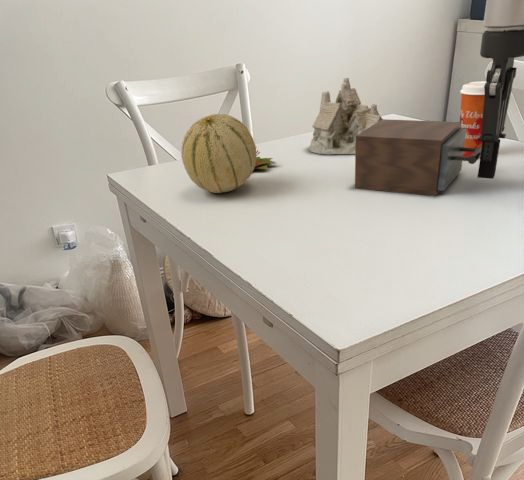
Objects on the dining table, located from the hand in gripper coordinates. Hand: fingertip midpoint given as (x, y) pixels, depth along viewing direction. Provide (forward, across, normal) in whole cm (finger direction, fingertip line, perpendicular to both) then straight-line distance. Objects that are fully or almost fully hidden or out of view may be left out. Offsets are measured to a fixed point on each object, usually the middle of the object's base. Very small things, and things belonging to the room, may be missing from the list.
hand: (486, 176), depth 99 cm
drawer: (+1, 0, +11) cm, 11 cm away
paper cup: (+2, +21, +7) cm, 22 cm away
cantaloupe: (+2, -16, +48) cm, 51 cm away
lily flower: (+2, 0, +51) cm, 51 cm away
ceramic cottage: (+2, +20, +36) cm, 41 cm away
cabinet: (+2, 0, +15) cm, 15 cm away
